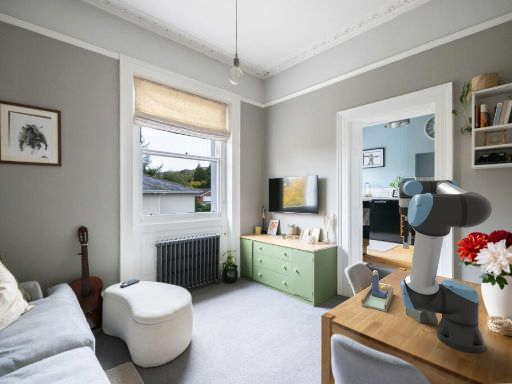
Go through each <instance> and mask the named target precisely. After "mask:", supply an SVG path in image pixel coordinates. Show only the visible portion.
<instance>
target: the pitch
mask: <svg viewBox="0 0 512 384" xmlns="http://www.w3.org/2000/svg"><path fill="white" fill-rule="evenodd" d="M383 285H385V286H386V287H387V288H388V291H387V296H386V298H382V297H377V296H373V295H372V282H371V283H370V286H369V287H368V288H367V290H366V292H365V293H364V295H363V296H362V298H361V303H360V304H361V306H362V307H364V308H365V307H366V308H370V309H374V310H378V311H382V312H386V313H387V312H388V309H389V306H390V304H391V301H392V298H393V296H394V287H393V286H392V285H391V284H387V283H382V282H379V290H381V289H380V288H381V286H383Z"/></svg>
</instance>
